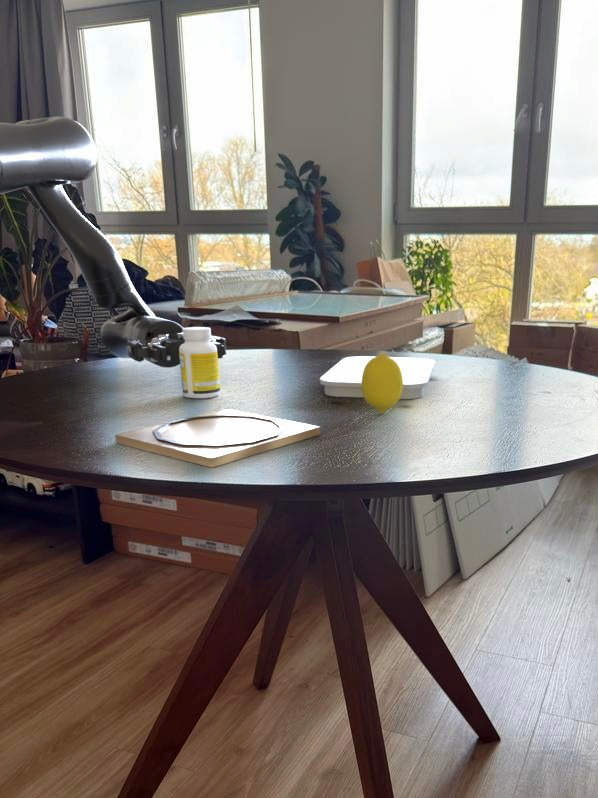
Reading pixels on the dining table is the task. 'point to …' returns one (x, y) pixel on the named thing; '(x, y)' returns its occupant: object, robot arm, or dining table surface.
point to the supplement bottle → (199, 364)
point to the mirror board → (217, 436)
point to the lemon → (382, 382)
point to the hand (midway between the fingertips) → (193, 353)
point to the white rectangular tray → (350, 369)
